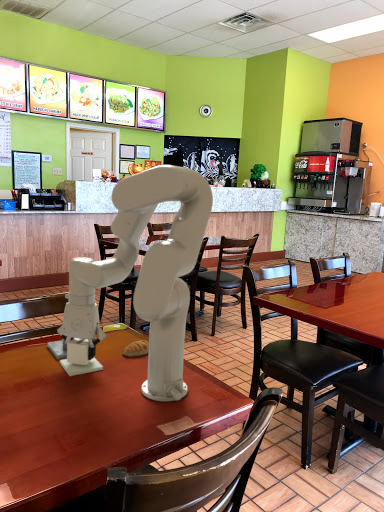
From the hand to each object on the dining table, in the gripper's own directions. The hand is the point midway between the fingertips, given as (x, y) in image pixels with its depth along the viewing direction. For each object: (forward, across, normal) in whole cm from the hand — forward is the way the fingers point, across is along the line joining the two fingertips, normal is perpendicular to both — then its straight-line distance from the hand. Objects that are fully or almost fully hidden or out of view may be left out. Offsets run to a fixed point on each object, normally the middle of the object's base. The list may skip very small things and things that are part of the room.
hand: (81, 356), depth 123 cm
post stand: (+3, -10, +10) cm, 14 cm away
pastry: (+4, +12, +16) cm, 21 cm away
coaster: (+3, 0, 0) cm, 3 cm away
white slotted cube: (+1, 0, 0) cm, 1 cm away
